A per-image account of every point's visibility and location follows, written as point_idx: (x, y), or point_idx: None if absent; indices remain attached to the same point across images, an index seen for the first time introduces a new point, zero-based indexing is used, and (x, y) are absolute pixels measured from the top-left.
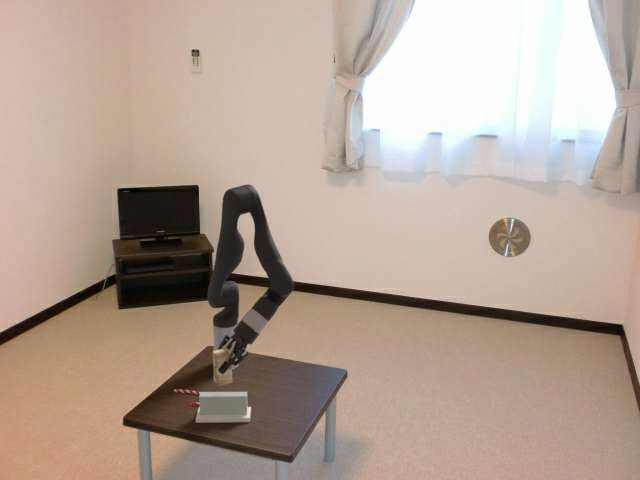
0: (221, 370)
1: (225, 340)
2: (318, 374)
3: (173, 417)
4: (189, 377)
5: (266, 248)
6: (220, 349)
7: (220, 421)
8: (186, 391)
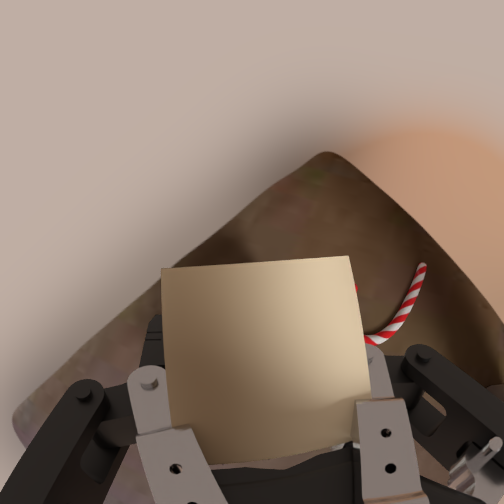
0: (154, 318)
1: (490, 437)
2: None
3: (292, 225)
4: (470, 317)
5: None
6: (366, 361)
7: None
8: (411, 291)
